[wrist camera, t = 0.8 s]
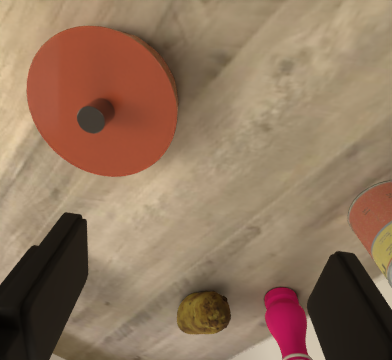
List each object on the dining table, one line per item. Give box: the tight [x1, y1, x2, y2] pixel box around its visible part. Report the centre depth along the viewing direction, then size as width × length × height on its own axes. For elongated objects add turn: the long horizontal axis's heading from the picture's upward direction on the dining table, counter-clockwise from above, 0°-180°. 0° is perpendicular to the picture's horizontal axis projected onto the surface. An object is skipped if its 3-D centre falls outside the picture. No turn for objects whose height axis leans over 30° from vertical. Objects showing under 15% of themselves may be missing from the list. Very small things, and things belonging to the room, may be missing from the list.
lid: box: [27, 26, 177, 177], centre depth 32 cm, size 18×18×5 cm
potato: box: [177, 291, 231, 334], centre depth 54 cm, size 8×13×8 cm, turn 125°
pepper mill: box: [264, 287, 312, 360], centre depth 48 cm, size 7×7×20 cm
